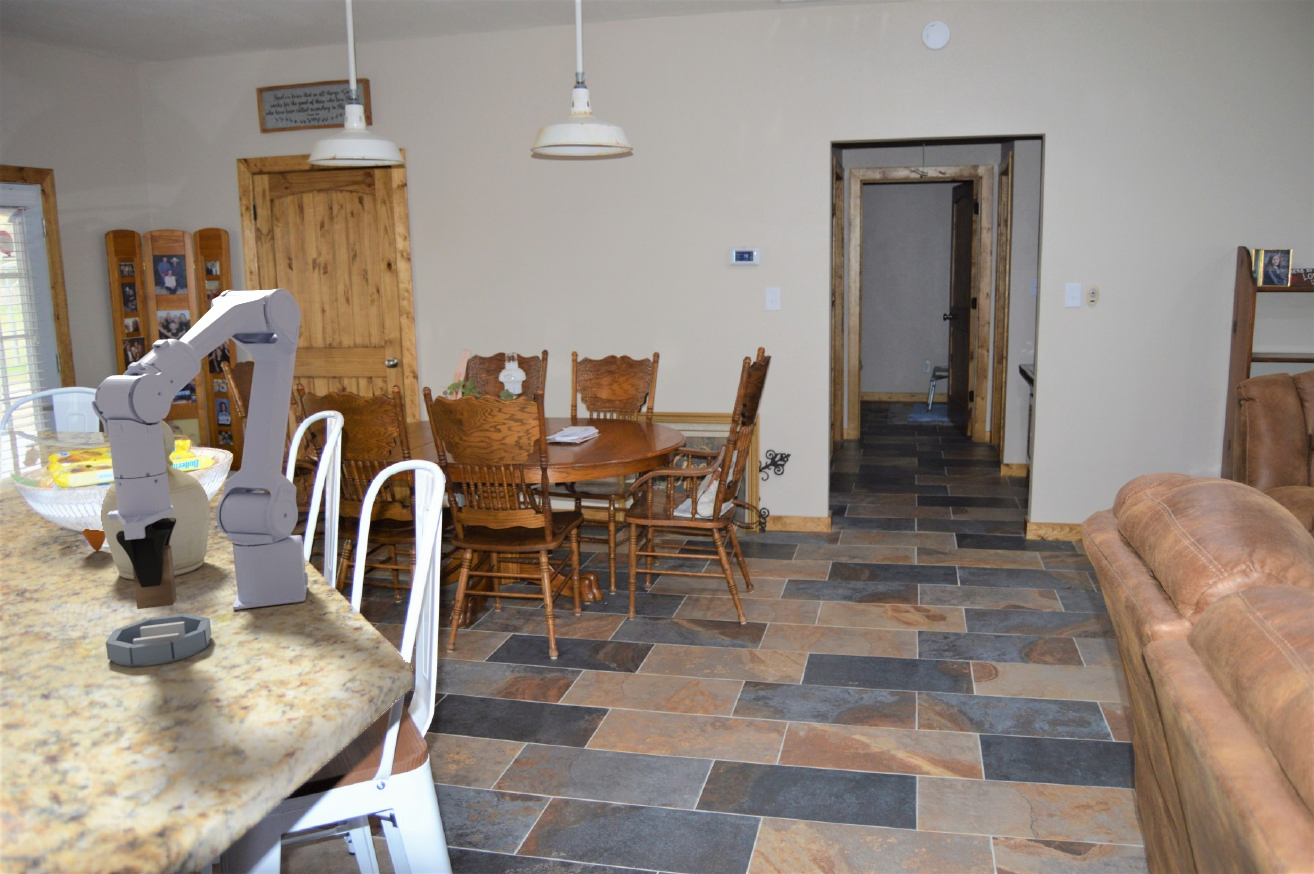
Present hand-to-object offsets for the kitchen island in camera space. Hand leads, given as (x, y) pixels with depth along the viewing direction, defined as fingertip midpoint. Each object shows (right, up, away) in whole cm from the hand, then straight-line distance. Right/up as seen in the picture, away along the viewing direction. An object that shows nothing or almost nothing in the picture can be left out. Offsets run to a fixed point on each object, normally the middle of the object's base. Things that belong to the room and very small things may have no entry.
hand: (153, 582), depth 119 cm
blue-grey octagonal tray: (0, -9, +1) cm, 9 cm away
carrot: (-35, -2, +49) cm, 60 cm away
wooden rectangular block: (0, -3, 0) cm, 3 cm away
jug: (-17, -4, +36) cm, 40 cm away
